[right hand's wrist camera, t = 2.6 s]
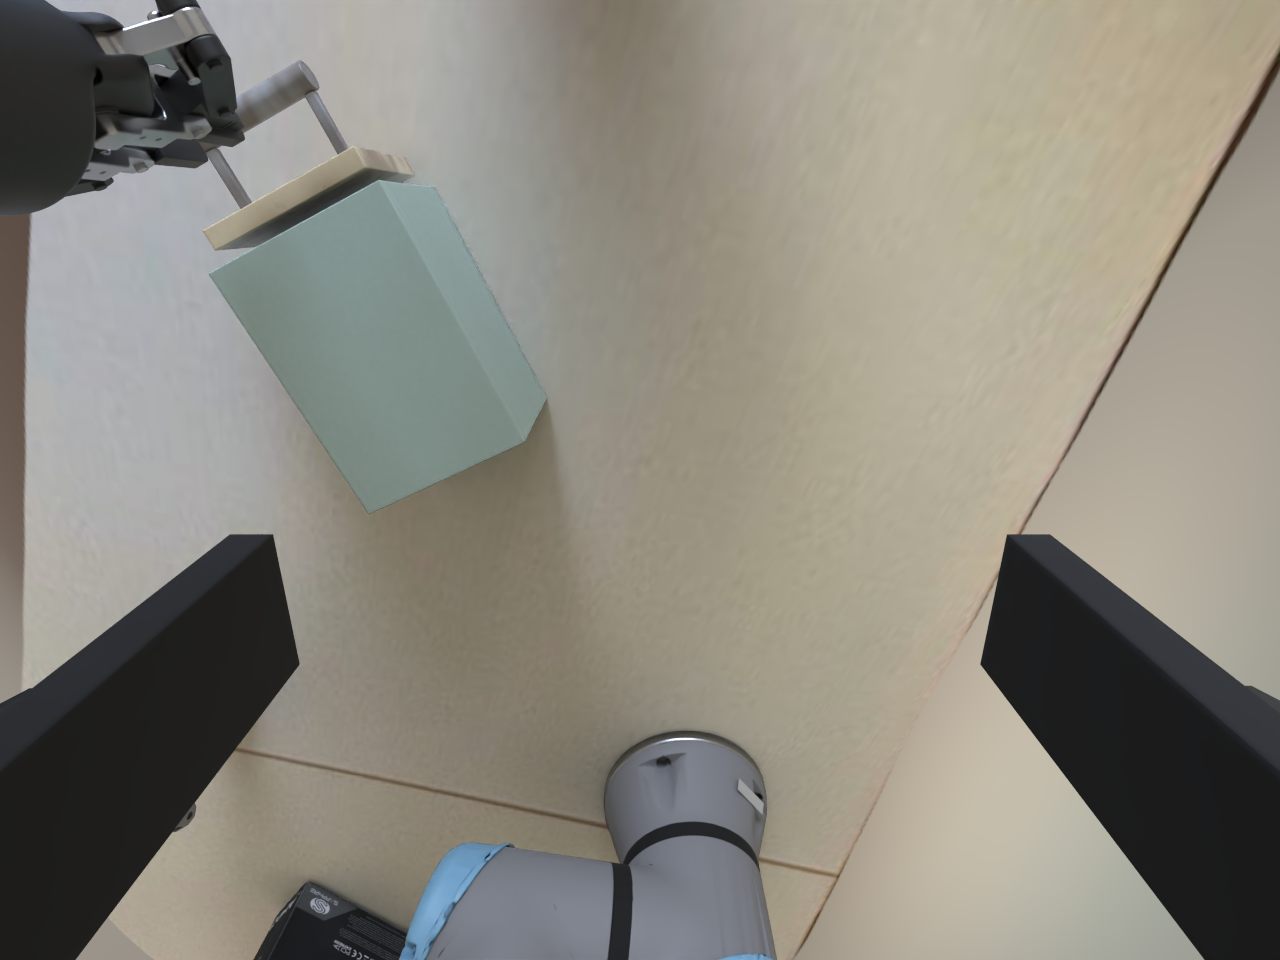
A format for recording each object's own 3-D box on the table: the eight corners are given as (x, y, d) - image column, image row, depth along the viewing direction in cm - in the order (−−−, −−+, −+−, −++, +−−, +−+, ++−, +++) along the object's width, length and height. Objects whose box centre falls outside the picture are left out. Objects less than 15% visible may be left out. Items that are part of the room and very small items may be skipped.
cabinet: (296, 261, 49) (207, 273, 39) (434, 186, 48) (378, 179, 37) (419, 458, 55) (368, 514, 45) (547, 398, 53) (525, 442, 43)
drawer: (228, 146, 46) (136, 130, 38) (358, 70, 44) (292, 37, 36) (398, 420, 53) (352, 459, 44) (516, 363, 51) (492, 392, 43)
